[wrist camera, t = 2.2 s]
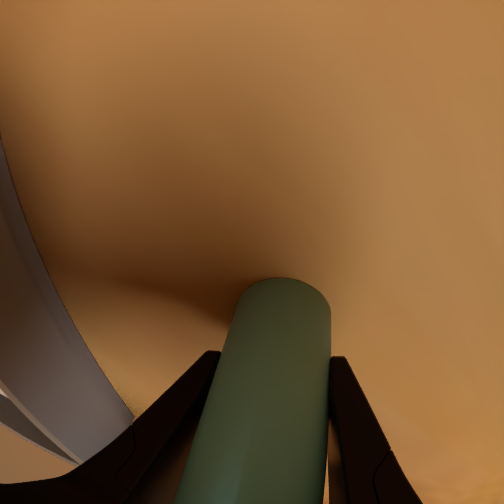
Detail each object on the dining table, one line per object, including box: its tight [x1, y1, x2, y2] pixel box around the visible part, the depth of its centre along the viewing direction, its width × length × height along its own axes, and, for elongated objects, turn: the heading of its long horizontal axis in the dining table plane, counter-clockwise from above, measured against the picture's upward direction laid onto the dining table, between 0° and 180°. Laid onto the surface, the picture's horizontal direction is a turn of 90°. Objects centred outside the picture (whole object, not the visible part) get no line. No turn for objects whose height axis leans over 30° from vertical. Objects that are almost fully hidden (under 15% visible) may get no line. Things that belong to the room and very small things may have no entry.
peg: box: [173, 278, 331, 504], centre depth 7 cm, size 3×3×9 cm
